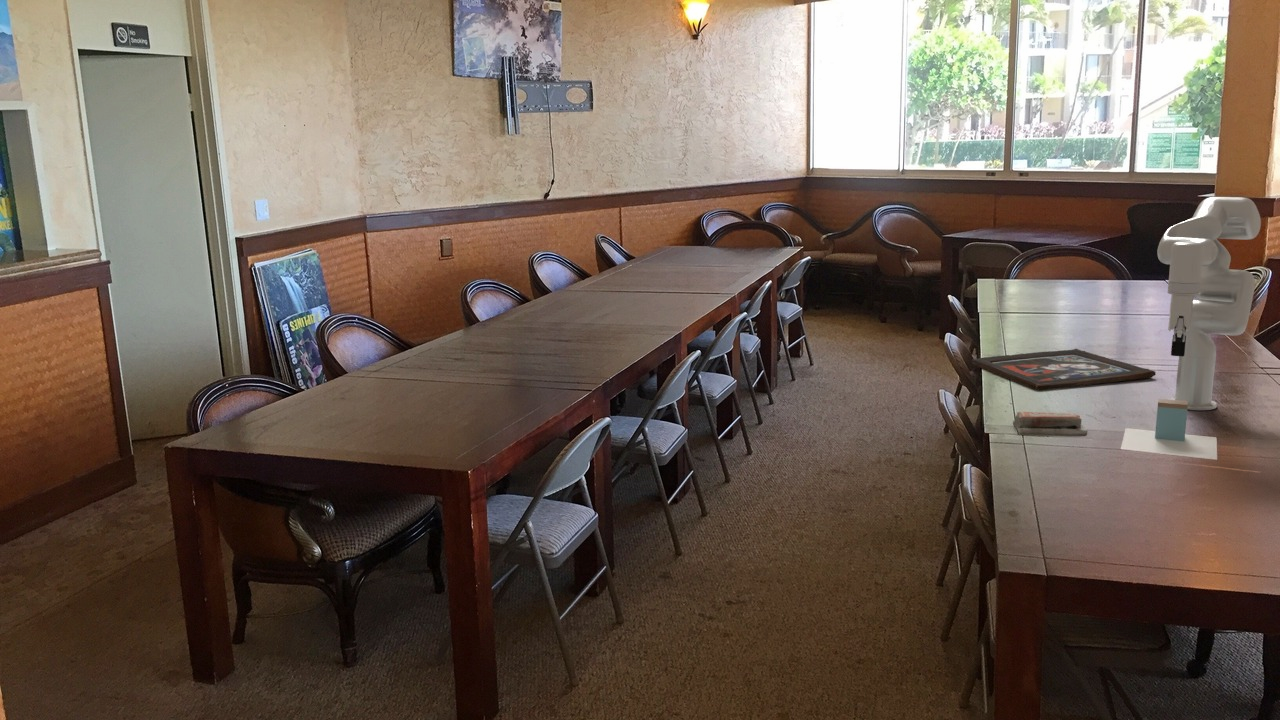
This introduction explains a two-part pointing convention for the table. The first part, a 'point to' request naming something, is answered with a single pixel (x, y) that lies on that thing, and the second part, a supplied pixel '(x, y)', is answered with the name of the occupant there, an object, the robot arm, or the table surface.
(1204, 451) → the board
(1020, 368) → the religious icon
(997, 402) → the table surface
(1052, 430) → the packaged product
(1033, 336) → the table surface
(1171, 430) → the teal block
